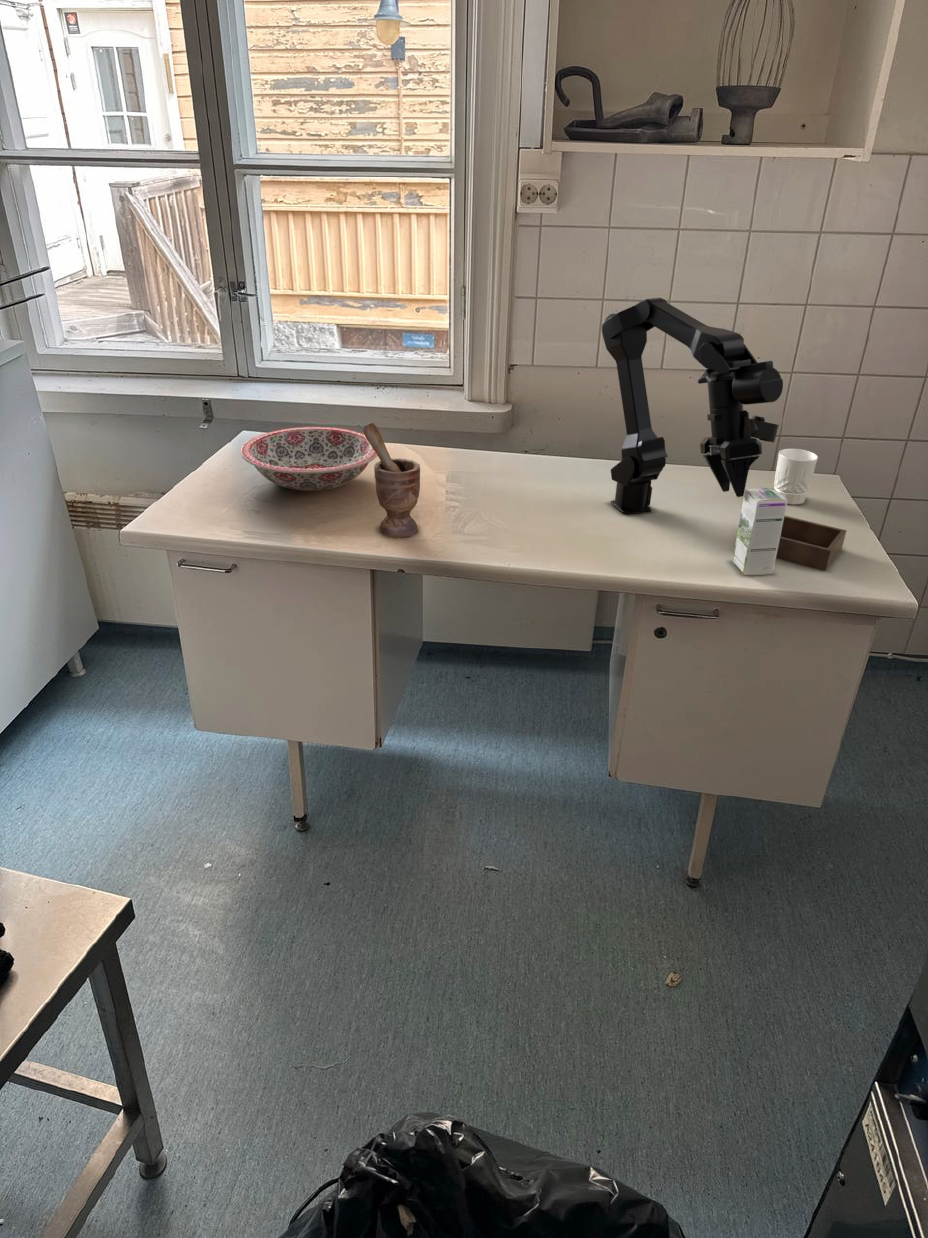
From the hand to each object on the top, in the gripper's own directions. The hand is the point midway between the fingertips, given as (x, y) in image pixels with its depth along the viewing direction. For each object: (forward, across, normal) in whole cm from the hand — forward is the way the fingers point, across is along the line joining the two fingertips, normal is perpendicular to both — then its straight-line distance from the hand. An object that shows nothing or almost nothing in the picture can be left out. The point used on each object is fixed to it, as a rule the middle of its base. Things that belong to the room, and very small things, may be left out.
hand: (732, 493), depth 164 cm
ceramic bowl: (-11, +31, +81) cm, 87 cm away
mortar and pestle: (-1, +9, +64) cm, 64 cm away
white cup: (+8, +31, -20) cm, 38 cm away
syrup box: (+14, -3, -1) cm, 14 cm away
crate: (+13, +6, -12) cm, 18 cm away
